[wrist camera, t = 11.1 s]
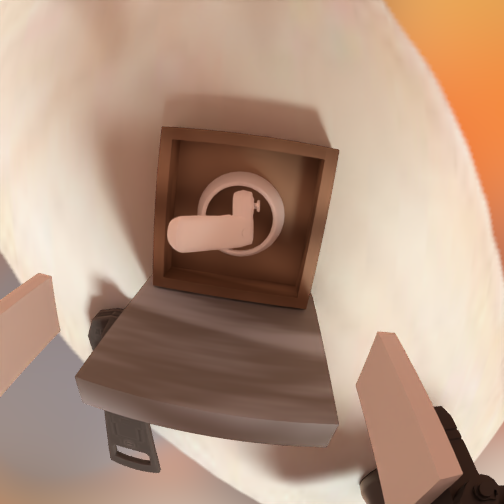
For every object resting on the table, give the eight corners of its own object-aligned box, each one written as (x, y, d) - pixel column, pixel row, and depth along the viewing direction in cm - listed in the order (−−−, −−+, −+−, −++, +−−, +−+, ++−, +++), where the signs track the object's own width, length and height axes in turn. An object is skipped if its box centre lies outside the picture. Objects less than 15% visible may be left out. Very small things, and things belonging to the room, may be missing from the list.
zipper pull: (107, 461, 36) (63, 332, 27) (121, 431, 42) (92, 302, 33) (163, 477, 35) (142, 353, 27) (173, 444, 42) (163, 316, 33)
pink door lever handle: (124, 168, 22) (182, 154, 17) (231, 176, 31) (292, 172, 27) (125, 267, 23) (183, 283, 18) (231, 251, 32) (291, 258, 28)
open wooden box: (307, 317, 32) (326, 447, 17) (153, 293, 32) (82, 402, 17) (342, 150, 26) (427, 170, 11) (162, 126, 26) (50, 124, 11)
